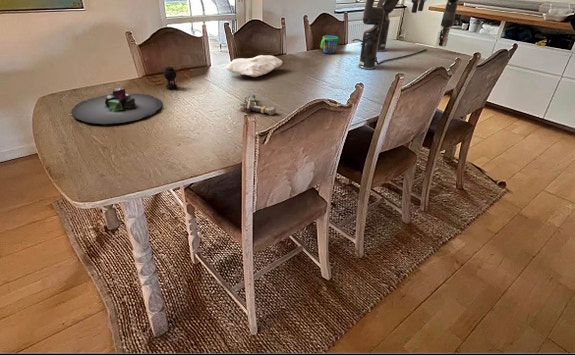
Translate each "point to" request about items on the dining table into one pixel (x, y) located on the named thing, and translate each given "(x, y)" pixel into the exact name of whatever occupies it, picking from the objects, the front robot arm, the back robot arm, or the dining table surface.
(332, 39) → the snack cup
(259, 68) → the crumpled cloth
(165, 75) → the gumball machine
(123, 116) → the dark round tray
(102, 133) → the dining table surface
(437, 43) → the block
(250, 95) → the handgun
